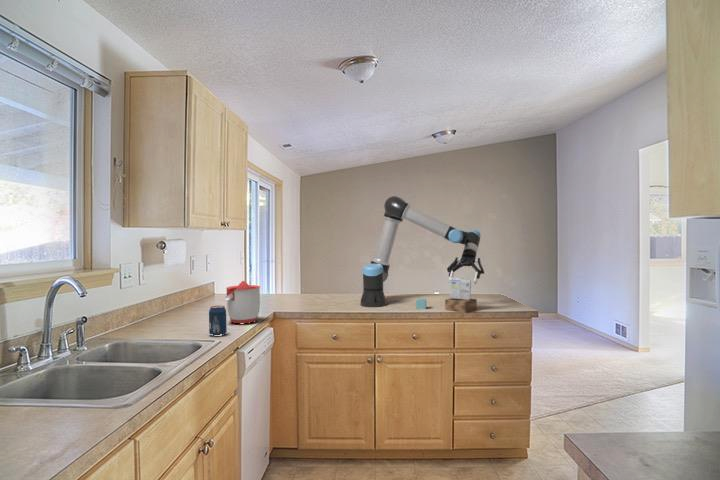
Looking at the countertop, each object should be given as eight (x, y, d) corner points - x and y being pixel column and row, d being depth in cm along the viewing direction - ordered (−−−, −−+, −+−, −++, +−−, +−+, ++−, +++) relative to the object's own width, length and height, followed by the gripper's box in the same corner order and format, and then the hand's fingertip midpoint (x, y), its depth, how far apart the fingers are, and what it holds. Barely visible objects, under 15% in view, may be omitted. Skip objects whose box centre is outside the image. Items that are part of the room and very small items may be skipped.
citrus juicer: (217, 323, 208) (216, 281, 208) (248, 317, 221) (247, 278, 221) (236, 328, 198) (235, 283, 198) (267, 321, 211) (266, 280, 211)
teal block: (416, 309, 240) (416, 300, 240) (417, 307, 245) (417, 298, 245) (425, 309, 239) (425, 300, 239) (426, 307, 244) (426, 298, 244)
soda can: (223, 332, 190) (222, 304, 189) (229, 335, 184) (228, 306, 184) (207, 334, 185) (206, 306, 185) (212, 337, 180) (212, 308, 180)
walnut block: (445, 310, 235) (445, 299, 235) (457, 307, 244) (457, 297, 244) (465, 313, 227) (465, 302, 227) (476, 310, 236) (476, 299, 236)
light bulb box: (470, 298, 238) (471, 278, 238) (469, 300, 232) (471, 280, 232) (450, 296, 241) (451, 277, 241) (449, 298, 235) (450, 278, 234)
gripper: (493, 257, 245) (487, 287, 233) (449, 256, 257) (441, 285, 245) (491, 248, 241) (484, 278, 228) (446, 247, 253) (438, 276, 240)
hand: (462, 282), depth 236 cm, fingers open, 13 cm apart
